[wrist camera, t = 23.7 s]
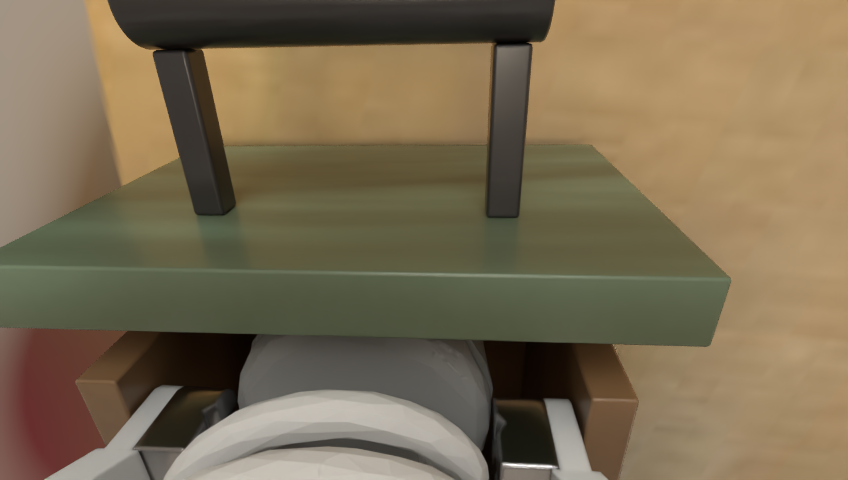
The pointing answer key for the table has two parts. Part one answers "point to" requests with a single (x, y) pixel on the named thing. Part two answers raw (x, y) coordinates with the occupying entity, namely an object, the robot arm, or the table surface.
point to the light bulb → (350, 413)
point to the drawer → (365, 232)
